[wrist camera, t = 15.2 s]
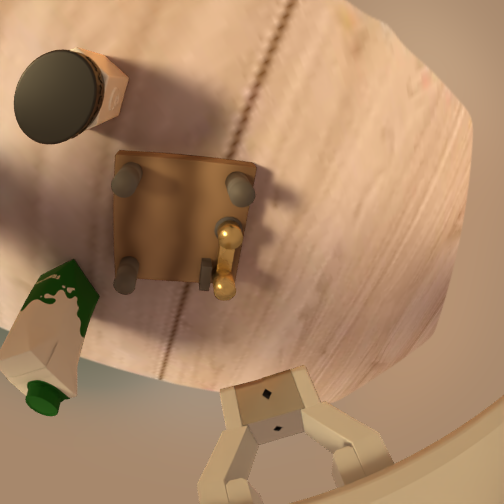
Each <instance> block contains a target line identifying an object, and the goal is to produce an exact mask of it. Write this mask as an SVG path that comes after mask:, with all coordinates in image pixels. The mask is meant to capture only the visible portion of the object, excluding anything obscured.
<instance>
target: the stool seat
mask: <svg viewBox="0 0 504 504" xmlns="http://www.w3.org/2000/svg"><path fill="white" fill-rule="evenodd" d="M256 169H257V168H256V166H255V165H254V164H253V163H252V162H245V161H237V160H229V159H221V158H212V157H202V156H192V155H182V154H170V153H157V152H143V151H125V150H120V151H119V152H118V153H117V154H116V155H115V169H114V178H113V180H112V183H111V188H112V191H113V192H114V205H113V225H114V261H115V280H114V288H115V290H116V291H117V292H119V293H120V294H124V295H127V294H130V293H132V292H133V291H134V289H135V285H136V280H137V278H138V279H152V280H166V281H182V282H198V283H199V289H200V290H202V291H209V287H210V283H213V281H212V270H213V268H214V267H215V266H216V261H217V254H218V248H219V239H218V234H217V229H218V226H219V225H220V224H221V223H222V222H224V221H227V220H232V221H235V222H236V223H238V225H239V226H240V229H241V232H242V235H243V236H244V231H245V226H246V221H247V215H248V210H249V205H250V204H251V203H252V202H253V201H254V199H255V191H254V189H253V184H254V179H255V174H256ZM241 247H242V244H241V245H240V246H239V247H238V248H236V249H235V251H234V257H233V262H232V267H231V271H232V275H233V279H234V284H235V279H236V273H237V268H238V263H239V257H240V252H241Z"/></svg>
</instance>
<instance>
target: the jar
mask: <svg viewBox="0 0 504 504" xmlns="http://www.w3.org/2000/svg"><path fill="white" fill-rule="evenodd" d="M128 80H129V78H128V77H127V76H126V75H125V74H124V73H123V72H122V71H121V70H120V69H119V68H118V67H117V66H115V65H114V64H113V63H112V62H111V61H110V60H109V59H108V58H107V57H106V56H104V55H102V54H99V53H95V52H92V51H88V50H85V49H81V48H78V47H76V48H74V49H72V50H55V51H51V52H48V53H45V54H43V55H41V56H40V57H38V58H37V59H36V60H34V61H33V62H32V63H31V64H30V65H29V66H28V67H27V68H26V70H25V71H24V73H23V74H22V76H21V78H20V80H19V82H18V84H17V87H16V91H15V96H14V111H15V116H16V120H17V122H18V124H19V126H20V128H21V129H22V131H23V132H24V133H25V134H26V135H27V136H28V137H29V138H31V139H32V140H34V141H36V142H39V143H42V144H58V143H61V142H64V141H67V140H69V139H71V138H74V137H76V136H78V134H81V133H82V132H83V131H85V130H88V129H90V128H93V127H95V126H97V125H99V124H101V123H104V122H106V121H108V120H110V119H112V118H114V117H117V116H118V115H119V112H120V109H121V105H122V101H123V97H124V94H125V90H126V87H127V83H128Z"/></svg>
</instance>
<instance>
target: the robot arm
mask: <svg viewBox="0 0 504 504" xmlns="http://www.w3.org/2000/svg"><path fill="white" fill-rule="evenodd" d="M220 398H221V403H222V409H223V414H224V419H225V424H226V430H225V431H222V434H221V435H220V438H219V440H218V442H217V444H216V446H215V448H214V451H213V453H212V455H211V457H210V459H209V461H208V463H207V465H206V467H205V469H204V471H203V473H202V475H201V477H200V480H199V481H198V484H197V489H198V497H199V503H200V504H263V501H262V498H261V495H260V494H259V493H258V492H257V491H256V490H255V489H254V488H253V487H252V485H251V484H250V483H249V482H248V481H247V479H248V477H249V474H250V471H251V468H252V465H253V462H254V459H255V456H256V453H257V450H258V447H259V446H258V445H261V444H264V443H267V442H271V441H274V440H278V439H281V438H284V437H288V436H292V435H295V434H298V433H302V432H305V433H306V434H307V435H309V436H310V437H311V438H312V439H314V440H315V441H316V442H318V443H319V444H320V445H322V446H323V447H324V448H326V449H327V450H329V451H330V452H331V453H333V454H334V455H333V466H332V476H333V479H334V481H335V484H336V487H337V488H336V489H333V490H331V491H328V492H325V493H322V494H319V495H316V496H313V497H310V498H307V499H303V500H299V501H296V502H292V503H289V504H504V395H503V396H502V397H500V398H499V399H498V400H497V401H495V402H494V403H493V404H491V405H490V406H489V407H487V408H486V409H485V410H483V411H482V412H481V413H479V414H478V415H477V416H475V417H474V418H472V419H471V420H469V421H468V422H466V423H465V424H463V425H462V426H460V427H459V428H457V429H456V430H454V431H452V432H451V433H449V434H448V435H446V436H444V437H443V438H441V439H440V440H438V441H436V442H434V443H433V444H431V445H430V446H427V447H426V448H424V449H422V450H420V451H418V452H417V453H415V454H413V455H411V456H409V457H407V458H405V459H403V460H401V461H399V462H397V463H395V464H394V462H393V460H392V458H391V456H390V454H389V452H388V450H387V448H386V446H385V444H384V442H383V440H382V438H381V436H380V434H379V432H377V431H375V430H374V429H372V428H370V427H368V426H366V425H365V424H363V423H361V422H359V421H358V420H356V419H354V418H353V417H351V416H349V415H347V414H346V413H344V412H342V411H340V410H339V409H337V408H336V407H334V406H332V405H331V404H329V403H327V402H326V401H325V402H322V403H321V401H320V398H319V396H318V394H317V391H316V389H315V387H314V384H313V382H312V380H311V378H310V375H309V373H308V371H307V368H306V367H305V366H304V365H302V366H299V367H296V368H293V369H289V370H286V371H283V372H280V373H277V374H274V375H270V376H267V377H264V378H262V379H258V380H255V381H251V382H247V383H243V384H239V385H235V386H231V387H227V388H223V389H220Z"/></svg>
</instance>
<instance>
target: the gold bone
mask: <svg viewBox="0 0 504 504" xmlns="http://www.w3.org/2000/svg"><path fill="white" fill-rule="evenodd" d="M217 234H218V239H219V248H218V254H217V261H216V266H215V267H214V268H213V270H212V281H213V288H214V294H215V297H216V298H217V299H219V300H223V301H225V300H230V299H231V298H233V297H234V296H235V294H236V288H235V284H234V279H233V275H232V271H231V267H232V262H233V257H234V251H235V249H236V248H238V247H239V246H240V245H241V244H242V242H243V235H242V232H241V229H240V226H239V225H238V223H236V222H235V221H232V220H227V221H224V222H222V223H221V224H220V225H219V226H218V229H217Z"/></svg>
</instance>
